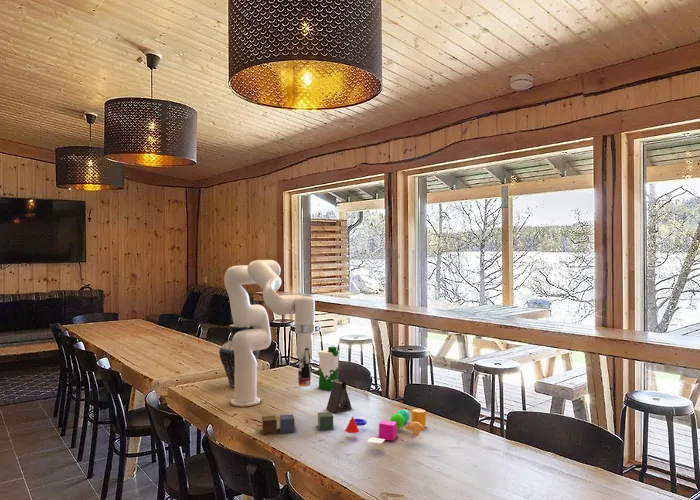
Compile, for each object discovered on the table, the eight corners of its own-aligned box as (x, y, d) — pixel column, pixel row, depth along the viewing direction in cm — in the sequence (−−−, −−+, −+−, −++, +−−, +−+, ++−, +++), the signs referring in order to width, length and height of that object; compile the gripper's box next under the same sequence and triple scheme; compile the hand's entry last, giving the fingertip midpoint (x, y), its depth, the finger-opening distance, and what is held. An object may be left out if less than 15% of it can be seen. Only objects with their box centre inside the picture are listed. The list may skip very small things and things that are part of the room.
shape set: (435, 428, 194) (435, 409, 195) (417, 454, 161) (417, 431, 162) (362, 419, 204) (363, 401, 205) (331, 442, 171) (332, 420, 172)
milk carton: (330, 391, 239) (330, 349, 239) (315, 388, 244) (315, 347, 244) (341, 387, 246) (341, 346, 246) (326, 384, 251) (327, 344, 251)
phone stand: (334, 413, 206) (334, 384, 206) (326, 409, 211) (326, 381, 211) (351, 409, 212) (352, 381, 212) (343, 406, 217) (343, 378, 217)
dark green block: (317, 425, 192) (317, 412, 192) (330, 424, 193) (330, 411, 193) (320, 430, 187) (320, 416, 187) (333, 429, 188) (333, 416, 188)
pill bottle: (298, 383, 197) (298, 362, 197) (310, 383, 197) (310, 362, 197) (298, 387, 192) (298, 364, 192) (310, 386, 192) (310, 364, 192)
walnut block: (261, 429, 187) (262, 416, 187) (275, 428, 188) (275, 415, 188) (262, 434, 182) (262, 420, 182) (276, 433, 183) (276, 419, 183)
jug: (255, 391, 239) (255, 327, 239) (214, 390, 239) (214, 327, 239) (263, 379, 259) (263, 321, 259) (225, 379, 260) (226, 321, 260)
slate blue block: (279, 428, 188) (279, 415, 188) (292, 427, 190) (292, 414, 190) (280, 433, 184) (280, 419, 184) (294, 432, 185) (294, 418, 185)
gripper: (292, 325, 202) (292, 371, 202) (298, 332, 185) (297, 382, 185) (310, 325, 204) (310, 370, 204) (318, 331, 187) (317, 380, 187)
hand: (304, 375), depth 194 cm, fingers closed on pill bottle, 4 cm apart
